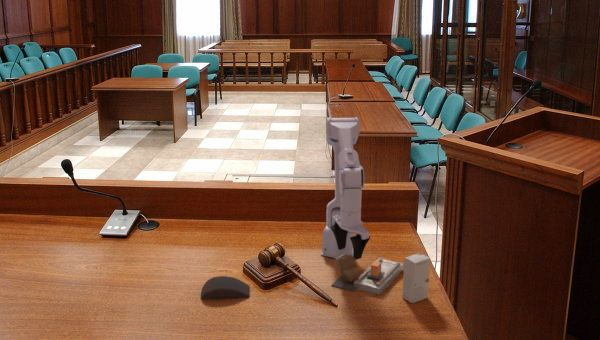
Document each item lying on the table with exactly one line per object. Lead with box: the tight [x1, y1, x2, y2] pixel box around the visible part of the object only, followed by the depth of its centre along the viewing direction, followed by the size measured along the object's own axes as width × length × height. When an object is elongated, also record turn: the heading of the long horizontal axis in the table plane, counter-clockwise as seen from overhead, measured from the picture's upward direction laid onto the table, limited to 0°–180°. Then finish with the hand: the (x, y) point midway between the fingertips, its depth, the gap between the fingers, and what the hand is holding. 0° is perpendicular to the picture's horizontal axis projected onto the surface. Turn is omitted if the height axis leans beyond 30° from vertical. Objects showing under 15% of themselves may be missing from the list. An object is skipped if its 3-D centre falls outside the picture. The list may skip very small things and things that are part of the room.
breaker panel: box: [354, 257, 404, 296], centre depth 180 cm, size 8×18×3 cm, turn 149°
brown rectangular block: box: [335, 254, 360, 282], centre depth 177 cm, size 4×4×7 cm
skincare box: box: [402, 252, 431, 304], centre depth 168 cm, size 6×4×12 cm
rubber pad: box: [331, 275, 358, 293], centre depth 178 cm, size 7×8×1 cm
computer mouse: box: [200, 275, 251, 300], centre depth 172 cm, size 8×14×4 cm, turn 95°
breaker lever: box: [367, 260, 385, 280], centre depth 177 cm, size 4×4×4 cm
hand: (349, 253), depth 175 cm, fingers open, 7 cm apart
